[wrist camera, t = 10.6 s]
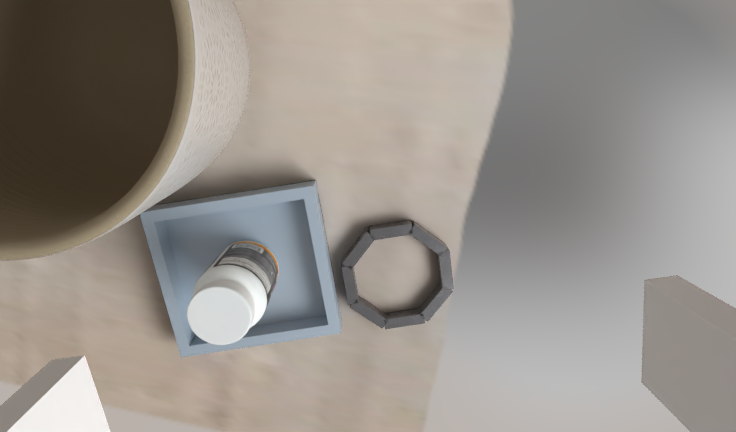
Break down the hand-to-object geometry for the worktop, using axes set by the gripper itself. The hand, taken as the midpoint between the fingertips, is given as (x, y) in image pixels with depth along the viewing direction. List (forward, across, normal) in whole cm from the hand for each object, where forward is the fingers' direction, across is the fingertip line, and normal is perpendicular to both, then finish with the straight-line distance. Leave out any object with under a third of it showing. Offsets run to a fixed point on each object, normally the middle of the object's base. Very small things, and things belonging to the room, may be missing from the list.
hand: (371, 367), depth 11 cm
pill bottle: (+31, -11, -8) cm, 34 cm away
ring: (+31, +2, -11) cm, 33 cm away
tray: (+31, -11, -8) cm, 34 cm away
